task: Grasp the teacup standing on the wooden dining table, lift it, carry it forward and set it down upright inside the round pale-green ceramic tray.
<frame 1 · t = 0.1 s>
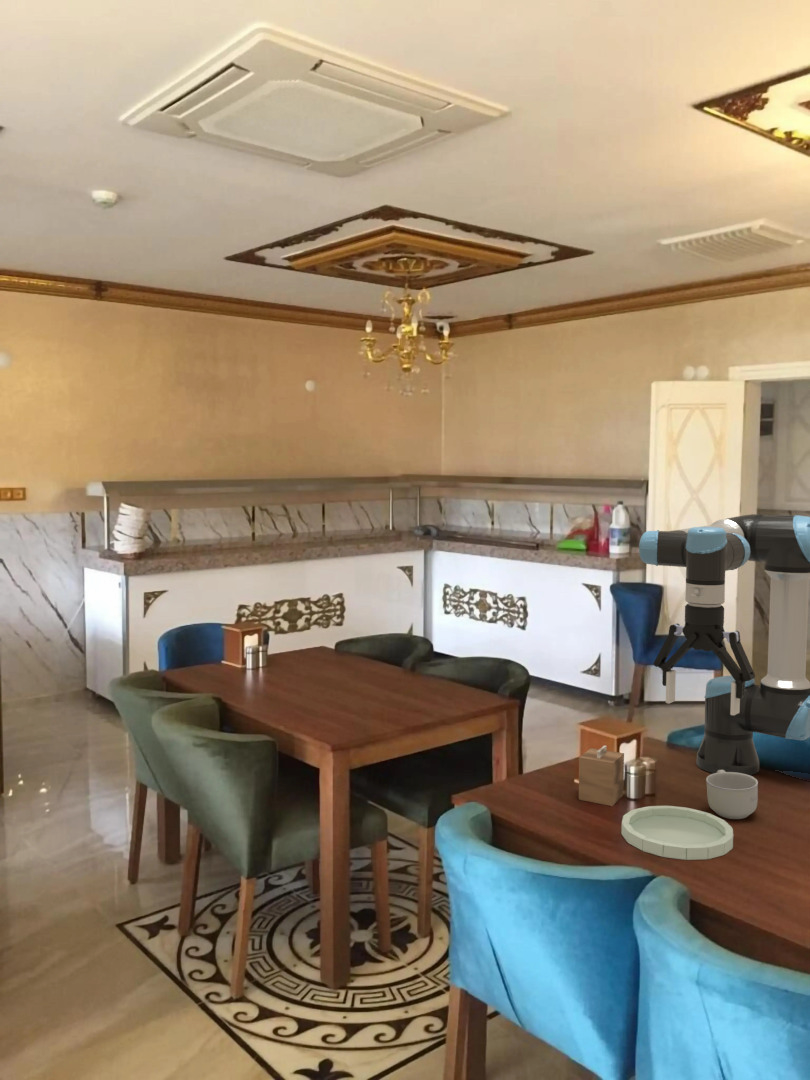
hand: (701, 707, 187), 28 cm above the table, fingers open, 13 cm apart
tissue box: (601, 797, 214), on the table
teacup: (729, 812, 205), on the table
tray: (676, 836, 191), on the table
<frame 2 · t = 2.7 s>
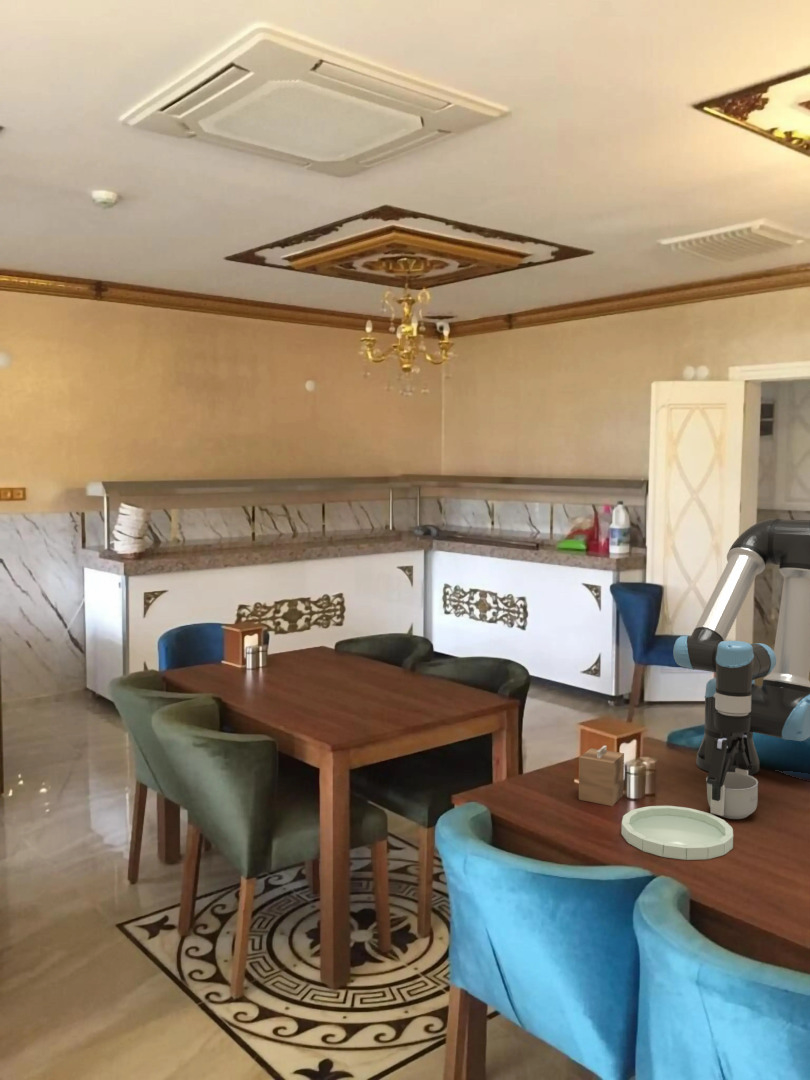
hand: (729, 805, 205), 1 cm above the table, fingers open, 13 cm apart
teacup: (729, 812, 205), on the table, touching gripper
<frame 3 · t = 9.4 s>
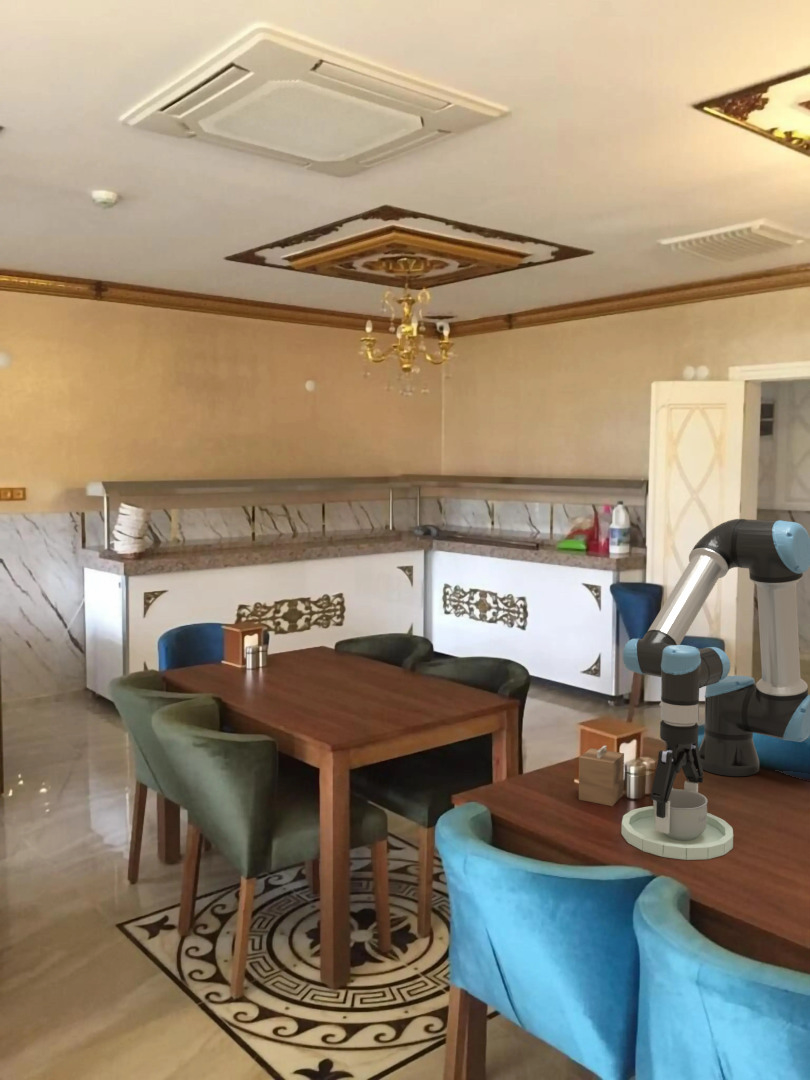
hand: (676, 821, 191), 3 cm above the table, fingers open, 13 cm apart
teacup: (678, 832, 192), point 1 cm above the table, touching tray
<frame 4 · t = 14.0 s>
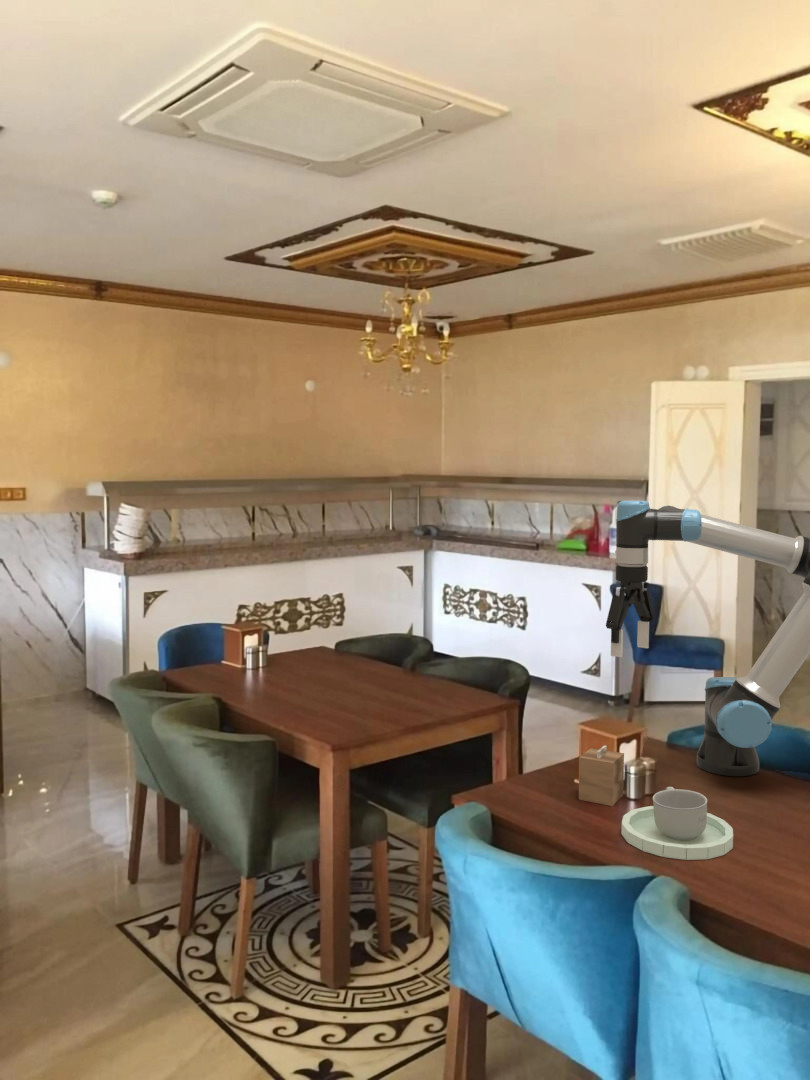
hand: (630, 652, 223), 32 cm above the table, fingers open, 13 cm apart
nothing on the table moved.
at the end: teacup 0.9 cm from the tray (horizontally); teacup tilted 0°; the gripper is holding nothing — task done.
